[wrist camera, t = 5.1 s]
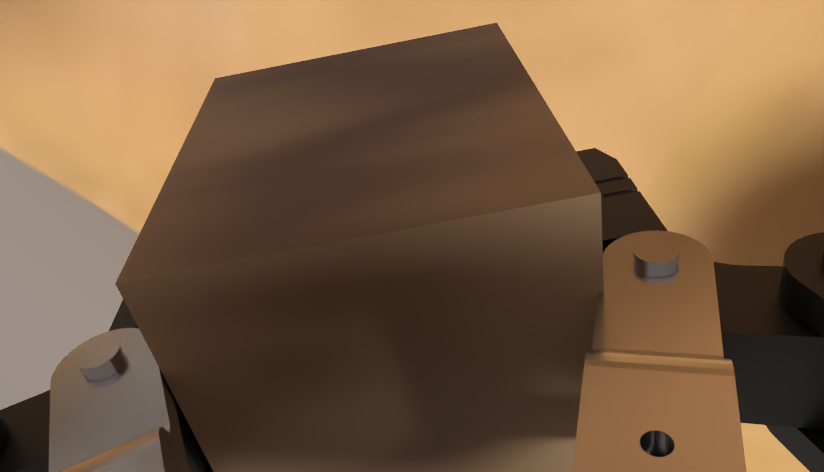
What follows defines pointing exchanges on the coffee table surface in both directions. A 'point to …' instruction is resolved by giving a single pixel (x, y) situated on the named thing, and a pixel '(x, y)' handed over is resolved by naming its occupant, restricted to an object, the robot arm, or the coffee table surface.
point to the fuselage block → (375, 266)
